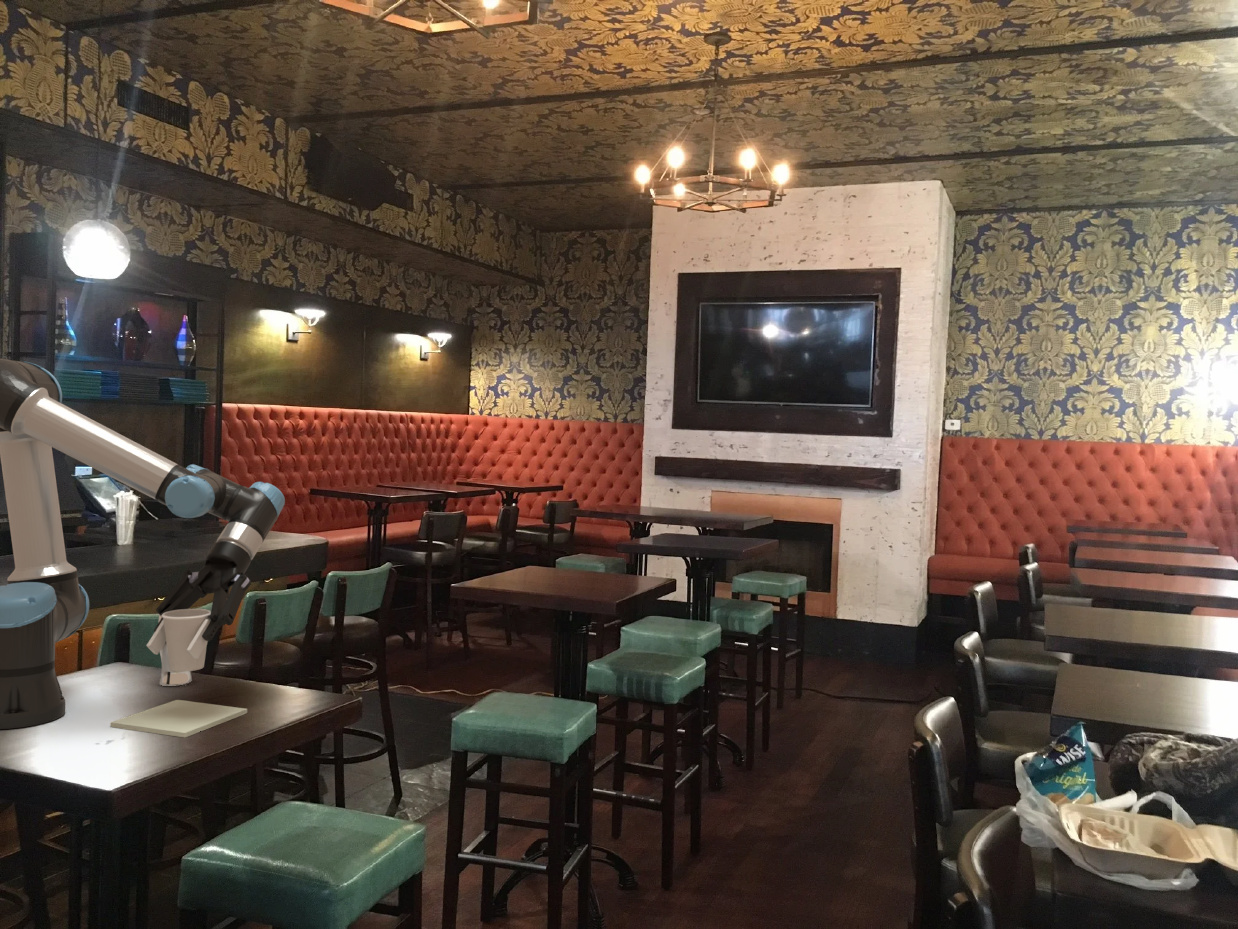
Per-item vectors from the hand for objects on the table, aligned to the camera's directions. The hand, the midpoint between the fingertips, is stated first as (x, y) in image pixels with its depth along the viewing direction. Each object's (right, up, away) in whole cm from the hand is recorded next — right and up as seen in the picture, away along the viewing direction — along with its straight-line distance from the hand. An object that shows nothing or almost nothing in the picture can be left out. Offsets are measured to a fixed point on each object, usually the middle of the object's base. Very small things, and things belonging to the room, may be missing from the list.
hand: (172, 652), depth 175 cm
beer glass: (-12, -12, +28) cm, 33 cm away
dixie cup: (+1, -4, +4) cm, 5 cm away
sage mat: (0, -13, +3) cm, 13 cm away
